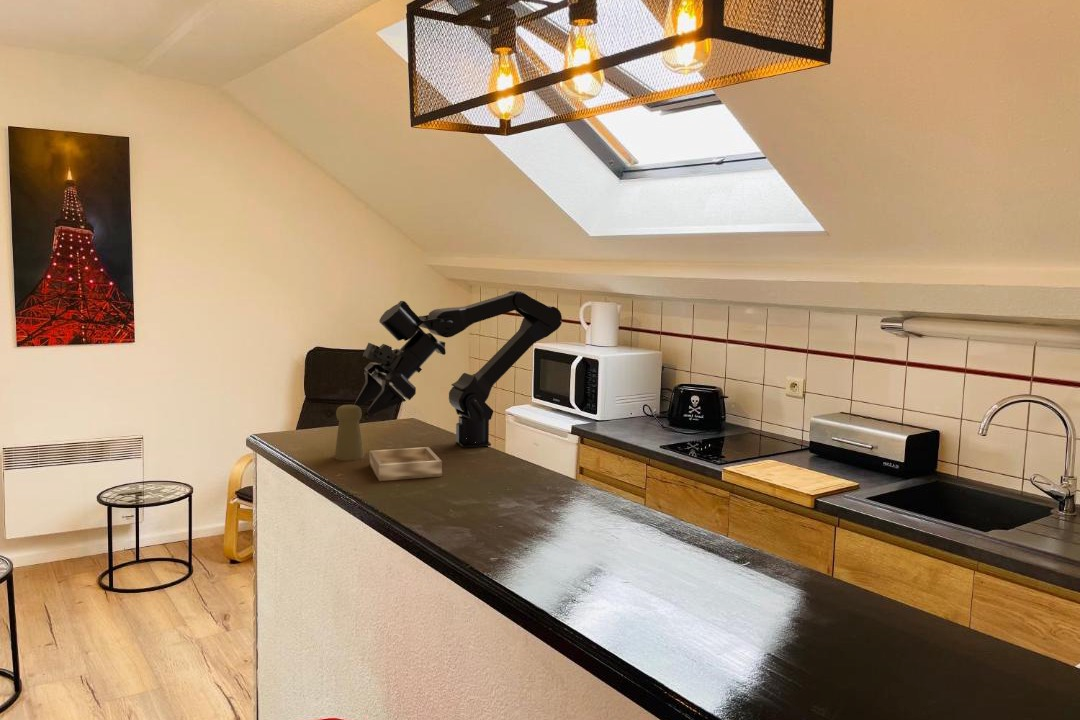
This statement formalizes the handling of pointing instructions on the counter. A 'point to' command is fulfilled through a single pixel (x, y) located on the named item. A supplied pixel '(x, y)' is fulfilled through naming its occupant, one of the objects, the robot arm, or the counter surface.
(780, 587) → the counter surface
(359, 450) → the olive pepper mill
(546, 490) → the counter surface
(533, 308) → the robot arm
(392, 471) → the birch tray
